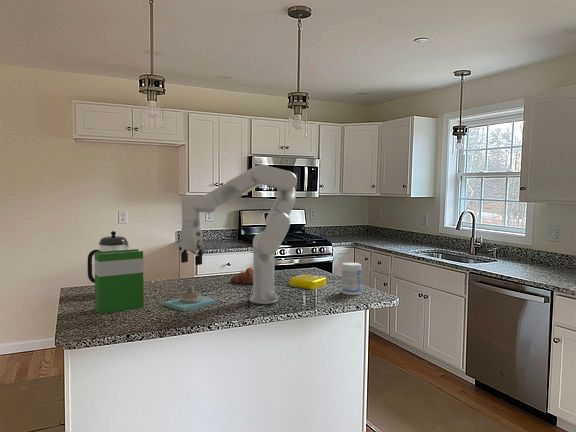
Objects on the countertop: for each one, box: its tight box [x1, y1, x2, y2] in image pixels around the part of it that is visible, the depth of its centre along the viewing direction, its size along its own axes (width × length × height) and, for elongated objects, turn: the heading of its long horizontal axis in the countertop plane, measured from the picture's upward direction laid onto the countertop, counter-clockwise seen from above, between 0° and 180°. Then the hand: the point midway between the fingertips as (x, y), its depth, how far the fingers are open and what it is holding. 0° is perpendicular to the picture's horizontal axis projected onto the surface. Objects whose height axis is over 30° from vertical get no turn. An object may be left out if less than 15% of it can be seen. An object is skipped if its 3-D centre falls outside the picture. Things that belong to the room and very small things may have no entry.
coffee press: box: [87, 230, 131, 284], centre depth 208 cm, size 17×16×30 cm
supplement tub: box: [341, 262, 362, 296], centre depth 218 cm, size 10×10×15 cm
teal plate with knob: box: [163, 286, 218, 312], centre depth 194 cm, size 14×18×8 cm
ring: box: [181, 290, 200, 302], centre depth 194 cm, size 7×7×3 cm
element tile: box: [289, 273, 327, 290], centre depth 236 cm, size 15×15×5 cm
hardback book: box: [94, 248, 145, 315], centre depth 185 cm, size 18×7×24 cm, turn 125°
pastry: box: [230, 267, 253, 286], centre depth 240 cm, size 17×15×8 cm
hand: (191, 263), depth 193 cm, fingers open, 9 cm apart
